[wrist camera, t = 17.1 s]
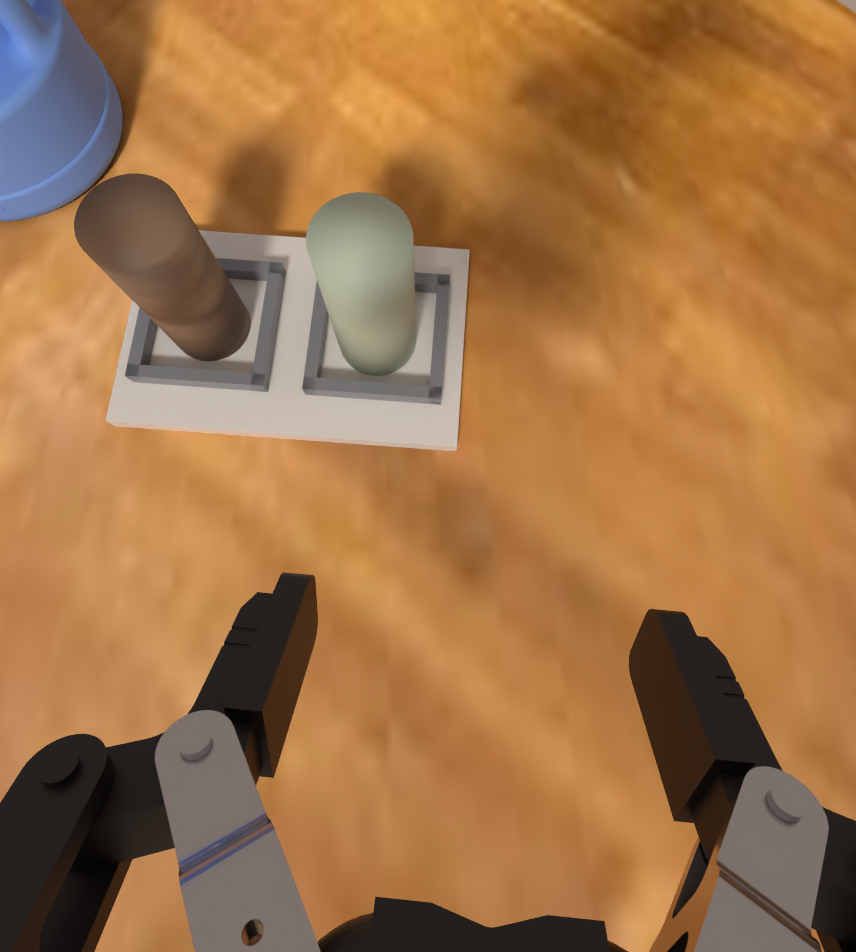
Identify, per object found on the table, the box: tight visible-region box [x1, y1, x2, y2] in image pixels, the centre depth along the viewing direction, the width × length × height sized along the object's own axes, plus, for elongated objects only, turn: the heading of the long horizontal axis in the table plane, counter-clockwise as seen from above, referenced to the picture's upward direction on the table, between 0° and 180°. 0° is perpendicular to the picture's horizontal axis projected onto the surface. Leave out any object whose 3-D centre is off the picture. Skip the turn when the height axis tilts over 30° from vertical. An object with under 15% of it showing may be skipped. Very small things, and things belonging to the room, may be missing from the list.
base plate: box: [106, 230, 470, 451], centre depth 34 cm, size 22×14×2 cm, turn 86°
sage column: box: [306, 192, 416, 376], centre depth 29 cm, size 5×5×10 cm
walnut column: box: [74, 174, 251, 361], centre depth 29 cm, size 5×5×10 cm
